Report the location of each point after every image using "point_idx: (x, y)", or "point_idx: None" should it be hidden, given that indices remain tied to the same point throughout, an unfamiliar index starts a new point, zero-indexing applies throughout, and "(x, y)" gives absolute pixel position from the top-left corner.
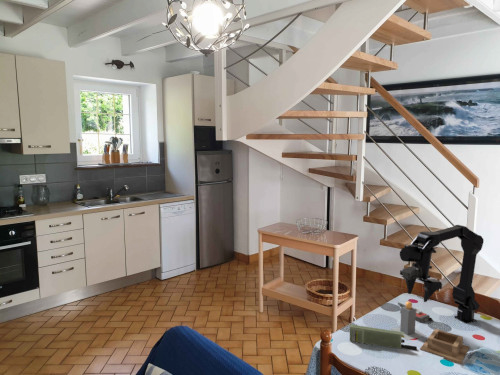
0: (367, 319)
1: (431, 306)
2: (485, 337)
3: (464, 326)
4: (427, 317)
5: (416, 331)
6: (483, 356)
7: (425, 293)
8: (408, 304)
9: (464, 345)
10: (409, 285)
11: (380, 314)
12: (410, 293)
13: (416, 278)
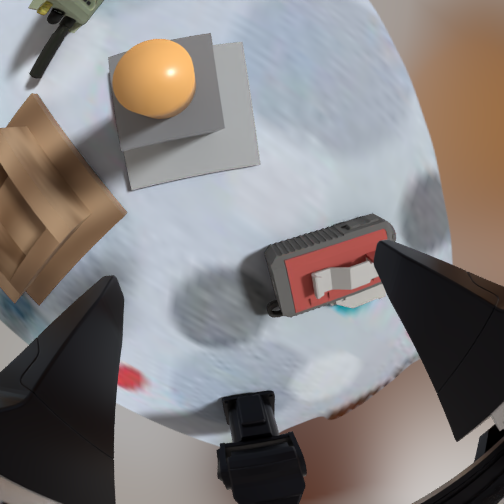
0: (369, 29)
1: (366, 362)
2: (124, 390)
3: (203, 385)
4: (278, 300)
5: (180, 165)
6: (11, 306)
7: (37, 354)
8: (127, 57)
9: (42, 294)
10: (448, 302)
11: (398, 120)
12: (375, 263)
13: (432, 502)
